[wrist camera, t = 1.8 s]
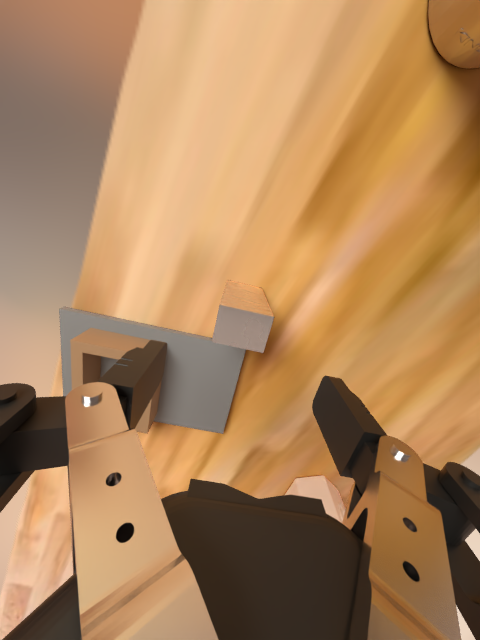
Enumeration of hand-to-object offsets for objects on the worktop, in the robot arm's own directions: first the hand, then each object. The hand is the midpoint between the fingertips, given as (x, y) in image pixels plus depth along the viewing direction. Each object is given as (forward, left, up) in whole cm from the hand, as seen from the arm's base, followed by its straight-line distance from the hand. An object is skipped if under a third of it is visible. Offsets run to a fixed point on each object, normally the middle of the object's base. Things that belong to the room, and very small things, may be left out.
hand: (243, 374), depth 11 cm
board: (+13, -9, -16) cm, 22 cm away
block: (+1, 0, -16) cm, 16 cm away
